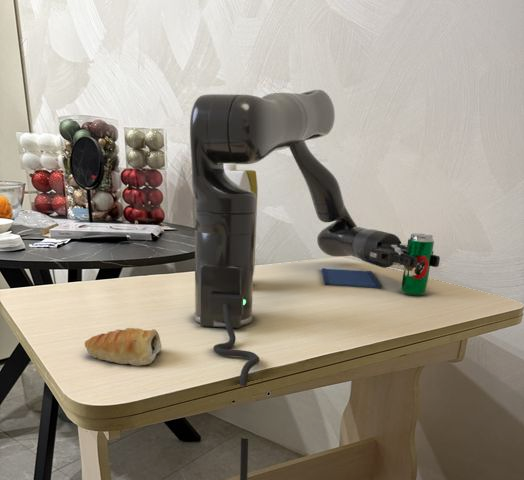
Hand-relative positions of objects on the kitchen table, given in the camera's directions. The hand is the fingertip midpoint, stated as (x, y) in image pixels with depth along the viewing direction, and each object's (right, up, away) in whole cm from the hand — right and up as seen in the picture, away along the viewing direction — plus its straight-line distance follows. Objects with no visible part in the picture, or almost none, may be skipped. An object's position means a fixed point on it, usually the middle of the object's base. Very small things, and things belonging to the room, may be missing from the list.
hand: (426, 262), depth 104 cm
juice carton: (-40, -4, +4) cm, 40 cm away
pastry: (-50, -19, -36) cm, 65 cm away
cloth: (-13, -1, +16) cm, 20 cm away
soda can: (-1, -6, +5) cm, 8 cm away
